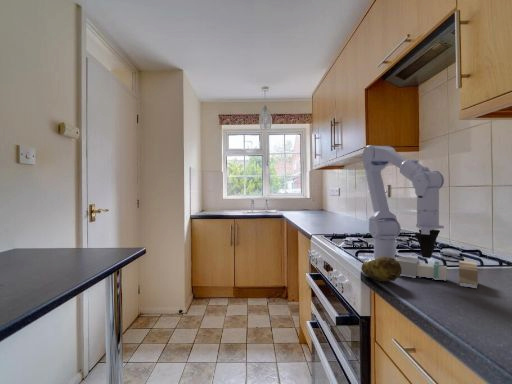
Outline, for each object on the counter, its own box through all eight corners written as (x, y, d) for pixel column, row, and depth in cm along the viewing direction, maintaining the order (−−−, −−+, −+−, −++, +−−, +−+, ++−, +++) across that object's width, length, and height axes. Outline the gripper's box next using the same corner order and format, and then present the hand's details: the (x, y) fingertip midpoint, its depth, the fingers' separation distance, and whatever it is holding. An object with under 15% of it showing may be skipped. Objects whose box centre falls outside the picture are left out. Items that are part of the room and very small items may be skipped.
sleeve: (398, 270, 92) (398, 256, 92) (418, 273, 88) (418, 258, 88) (394, 275, 87) (394, 260, 86) (416, 278, 83) (416, 263, 83)
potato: (385, 275, 87) (385, 249, 87) (406, 290, 74) (406, 260, 74) (359, 274, 87) (359, 249, 87) (375, 289, 74) (375, 260, 74)
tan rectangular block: (459, 279, 82) (459, 260, 82) (476, 282, 80) (476, 262, 79) (459, 286, 77) (459, 265, 77) (477, 289, 74) (477, 268, 74)
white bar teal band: (402, 270, 90) (402, 257, 90) (446, 277, 83) (447, 262, 83) (399, 274, 86) (399, 260, 86) (446, 282, 79) (446, 266, 79)
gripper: (442, 212, 75) (442, 262, 76) (444, 209, 87) (444, 252, 87) (413, 211, 80) (413, 258, 80) (419, 208, 91) (419, 249, 91)
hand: (427, 254), depth 84 cm, fingers open, 7 cm apart
